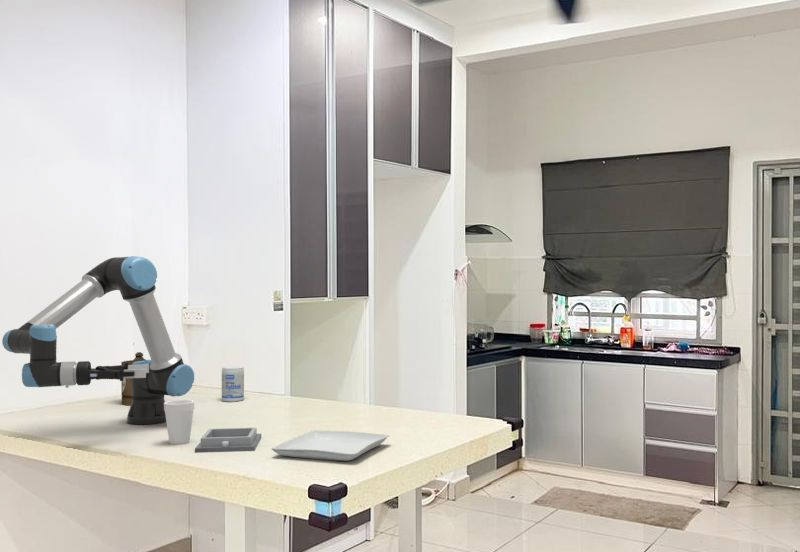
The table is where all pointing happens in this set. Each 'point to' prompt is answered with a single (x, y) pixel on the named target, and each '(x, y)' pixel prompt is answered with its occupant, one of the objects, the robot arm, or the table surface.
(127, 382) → the wooden container
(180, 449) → the table surface
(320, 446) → the square plate
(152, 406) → the robot arm
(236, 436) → the tray
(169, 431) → the foam cup
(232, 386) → the supplement tub
